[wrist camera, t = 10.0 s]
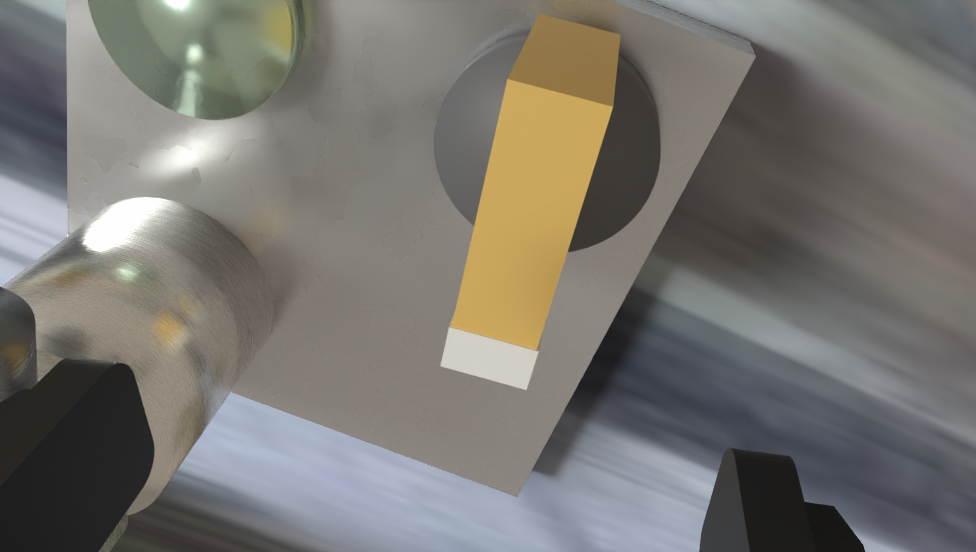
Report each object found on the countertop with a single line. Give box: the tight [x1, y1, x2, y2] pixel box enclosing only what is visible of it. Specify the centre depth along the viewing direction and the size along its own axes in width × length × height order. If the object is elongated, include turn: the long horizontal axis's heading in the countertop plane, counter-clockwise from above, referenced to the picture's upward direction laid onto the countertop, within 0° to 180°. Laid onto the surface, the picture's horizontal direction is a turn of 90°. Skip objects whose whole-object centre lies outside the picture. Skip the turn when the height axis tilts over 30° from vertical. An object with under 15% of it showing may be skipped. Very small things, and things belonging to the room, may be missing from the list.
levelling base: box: [0, 0, 756, 552], centre depth 19 cm, size 18×18×12 cm
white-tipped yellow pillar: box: [434, 14, 661, 390], centre depth 18 cm, size 7×6×6 cm
